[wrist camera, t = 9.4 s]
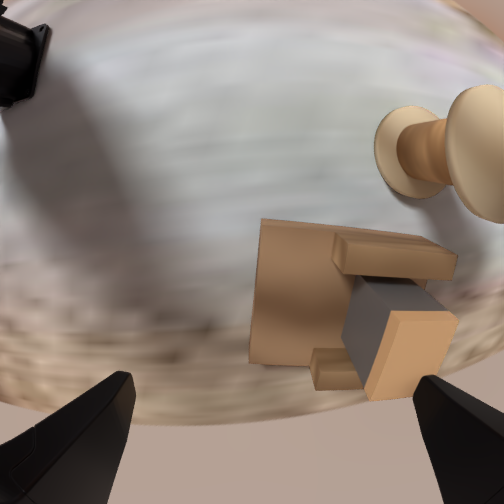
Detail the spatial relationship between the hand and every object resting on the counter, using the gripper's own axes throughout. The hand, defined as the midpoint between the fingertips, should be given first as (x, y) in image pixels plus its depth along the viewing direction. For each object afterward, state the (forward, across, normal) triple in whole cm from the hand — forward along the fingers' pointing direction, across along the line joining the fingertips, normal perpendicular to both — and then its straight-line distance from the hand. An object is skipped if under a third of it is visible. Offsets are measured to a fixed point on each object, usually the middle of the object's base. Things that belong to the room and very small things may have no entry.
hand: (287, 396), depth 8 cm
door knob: (+11, -9, -8) cm, 17 cm away
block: (+9, -7, +2) cm, 12 cm away
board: (+11, -5, +2) cm, 12 cm away
